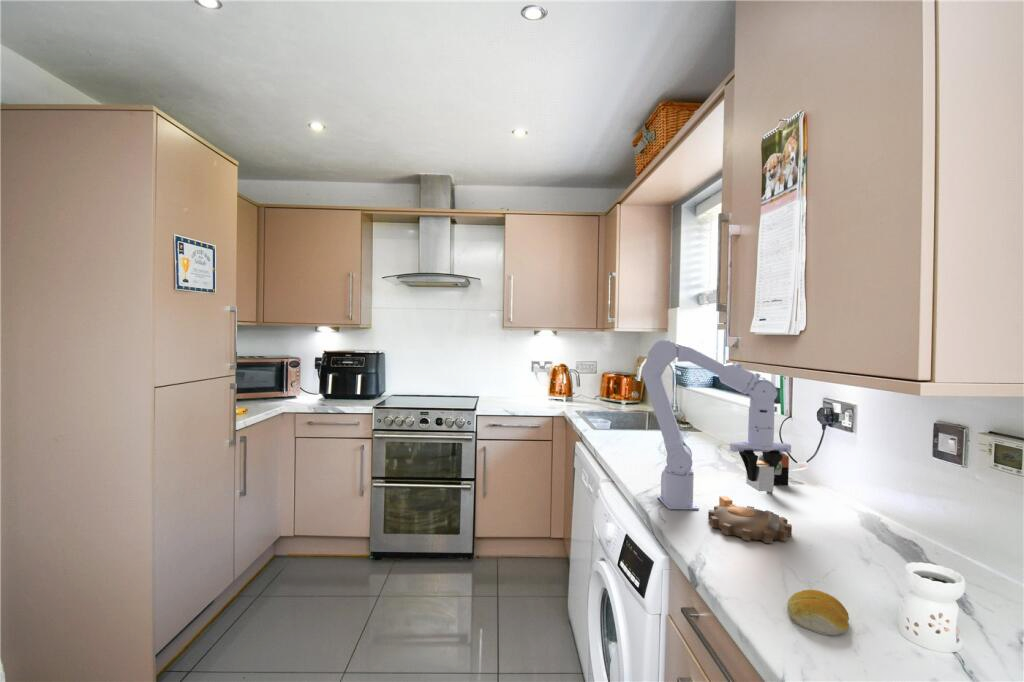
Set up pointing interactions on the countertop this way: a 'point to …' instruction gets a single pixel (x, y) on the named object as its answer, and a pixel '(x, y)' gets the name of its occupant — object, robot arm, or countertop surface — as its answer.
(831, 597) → the bread roll
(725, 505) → the block
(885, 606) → the countertop surface
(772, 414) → the robot arm
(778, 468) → the mechanical component
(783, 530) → the brown gear wheel
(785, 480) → the battery
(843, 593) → the countertop surface
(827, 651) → the countertop surface
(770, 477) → the white banded box
